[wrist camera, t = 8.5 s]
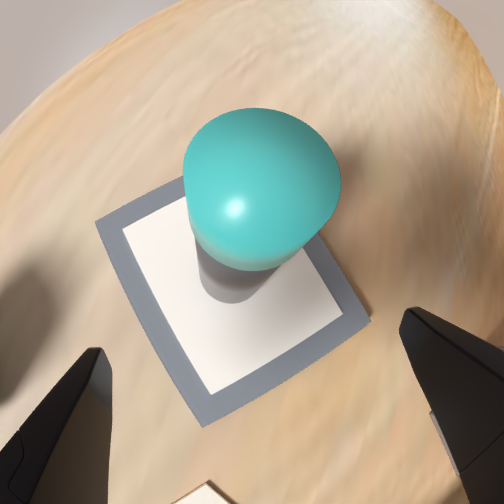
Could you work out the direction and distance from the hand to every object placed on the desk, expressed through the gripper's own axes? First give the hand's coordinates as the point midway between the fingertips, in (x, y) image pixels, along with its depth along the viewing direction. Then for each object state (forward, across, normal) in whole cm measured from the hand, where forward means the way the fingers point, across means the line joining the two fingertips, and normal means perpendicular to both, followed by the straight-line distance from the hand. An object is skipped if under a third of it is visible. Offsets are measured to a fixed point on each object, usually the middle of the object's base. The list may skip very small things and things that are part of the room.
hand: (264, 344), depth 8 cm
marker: (+9, 0, +4) cm, 10 cm away
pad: (+10, 0, +4) cm, 11 cm away
